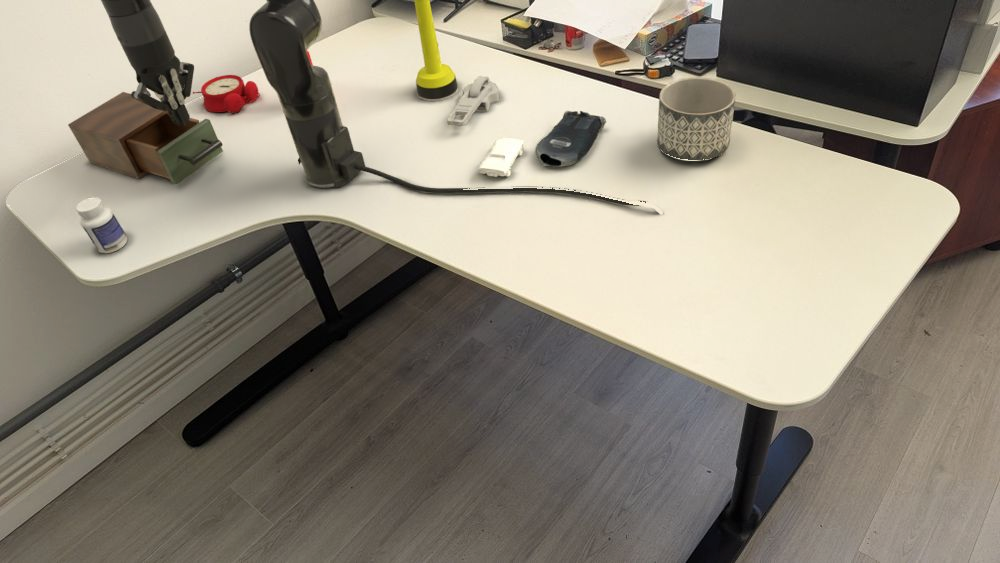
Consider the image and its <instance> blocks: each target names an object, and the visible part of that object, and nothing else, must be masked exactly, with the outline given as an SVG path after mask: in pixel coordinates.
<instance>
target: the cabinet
mask: <svg viewBox="0 0 1000 563" xmlns="http://www.w3.org/2000/svg"><path fill="white" fill-rule="evenodd" d="M159 101H160V100H159ZM160 102H161V101H160ZM166 113H168V111H162V110H158V109H155V108H153V107H151V106H149V105H147V104H145V103H143V102H140V101H138V100H136V99H134V98H132V96H131V93H129V92H125V91H122V92H120V93H119V94H117V95H115V96H113V97H112V98H110V99H109V100H107V101H105V102H103V103H102V104H100V105H98V106H96V107H95V108H93V109H91V110H90V111H88V112H86V113H85V114H83V115H82V116H80V117H78V118H77V119H75V120H73V121H71V122H69V123H68V124H67V126H68V128H69V129H70V131H71V133H72V134H73V136H74V138H75V139H76V141H77V143H78V145H79V147H80V148H81V150H82V152H83V153H84V155H85V156H86V158H87V160H88V161H89V163H90V164H93V165H95V166H99V167H101V168H104V169H108V170H110V171H114V172H116V173H120V174H123V175H127V176H129V177H133V178H136V179H138V180H140V179H143V178H144V177H145V176H146V175H149V174H150V173H149V172H146V171H143V170H139V169H138V167H137V165H136V163H135V161H134V159H133V157H132V156H131V154H130V152H129V150H128V148H127V146H126V144H125V142H124V141H125V140H126V139H128V138H129V137H131V136H132V135H134V134H135V133H137V132H139V131H140V130H142V129H143V128H145V127H146V126H148V125H149V124H151V123H153V122H154V121H156V120H157V119H159V118H160V117H162V116H163V115H165V114H166Z"/></svg>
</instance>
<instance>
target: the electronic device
mask: <svg viewBox="0 0 1000 563" xmlns="http://www.w3.org/2000/svg"><path fill="white" fill-rule="evenodd" d="M606 123H607V120H606V117H604V116H600V115H594V114H590V113H589V112H587V111H582V110H580V111H577V110H575V111H574V110H573V111H571V110H566V111H564V113H563V116H562V118H561V119H560V120H559V122H558V123H557V124H556V125H554V127H553V129H552V130H551V131H550V132H549V133H548V134H547V135H546V136H544V137H542V138H541V139H540V140H539V142H537V144H536V146H535V154H536V157H537V158H538V159H539V161H540V162H542V165H543V167H546V166H549V167H559V168H560V167H567V166H571V165H574V164H576V163H578V162H579V161H581V160H582V159H583V158H584V157H585V156H586V155H587V154H588V152H589V151H590V149H592V146H593V145H594V143H595V141H596V140H597V137H598V135H599V132H602V131H603V130H604V127H605V126H606Z"/></svg>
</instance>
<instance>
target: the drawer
mask: <svg viewBox="0 0 1000 563" xmlns="http://www.w3.org/2000/svg"><path fill="white" fill-rule="evenodd" d="M189 121H190V123H188V124H187V125H185V126H184V127H183V126H179V125H177V124H174V123H173V121H172V119H171V117H170V115H169V113H166V114H165V115H163V116H162V117H160V118H159V119H157V120H156V121H154V122H153V123H151V124H149V125H148V126H146V127H145V128H143V129H142V130H140V131H139V132H137V133H135V134H134V135H132V136H131V137H129V138H128V139H126V140H125V141H124V142H125V144H126V146H127V148H128V150H129V152H130V154H131V156H132V157H133V159H134V161H135V163H136V165H137V167H138V169H139V170H143V171H146V172H149V173H148V174H153V175H155V176H159V177H162V178H165V179H168V180H170V182H171V184H172V185H174V186H178V185H179V184H180V183H183V181H185V180H186V179H188V178H189V177H190V176H191V175H193V174H194V173H196V172H197V171H198V170H200V169H201V168H202V167H204V166H205V165H207V164H208V163H209V162H210V161H213V159H215V158H216V157H217V156H218V155H220V154H222V153H223V152H224V150H223V147H222V146H223V143H222V141H221V140H220V139H219V138H218V136H217V134H216V131H215V129H214V126H213V124H212V122H211V120H210V119H208V118H204V119H202V120H201V121H200V120H199V119H197V118H193V117H190V119H189Z"/></svg>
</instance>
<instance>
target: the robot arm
mask: <svg viewBox="0 0 1000 563" xmlns="http://www.w3.org/2000/svg"><path fill="white" fill-rule="evenodd" d="M100 1H101V4H102V6H103V8H104V9H105V12H106V14H107V16H108V18H109V21H110V24H111V27H112V29H113V32H114V34H115V36H116V38H117V40H118V42H119V44H120V46H121V48H122V50H123V52H124V54H125V56H126V58H127V60H128V62H129V64H130V66H131V67H132V69H133V70H134V72H135V75H136V77H135V78H136V81H137V84H138V85H137V87H136V90H133V91H132V92H131V93H130V94H131V96H132V98H134V99H136V100H138V101H140V102H143V103H145V104H147V105H149V106H151V107H153V108H155V109H158V110H162V111H168V113H169V115H170V117H171V119H172V121H173V123H174V124H177V125H179V126H183V127H184V126H185V125H187V124H188V123H190V121H189V119H190V118H191V117H190V116H191V115H190V113H189V111H188V109H187V107H186V105H185V102H186V98H190V97H191V95H192V94H191V93H192V88H193V81H194V72H195V65H194V64H193V63H190V62H184V61H181V60H180V58H179V57H178V56H176V52H175V49H174V47H173V44H172V43H171V42H172V41H171V40H170V38H169V35H168V33H167V31H166V28H165V26H164V24H163V22H162V19H161V18H160V15H159V14H158V11H157V10H156V8H155V7H154V5H153V3H152V2H151V0H100ZM248 27H249V28H248V29H249V30H248V31H249V36H250V40H251V43H252V46H253V48H254V52H255V54H256V56H257V59H258V61H259V64H260V66H261V68H262V71H263V73H264V75H265V78H266V80H267V82H268V84H269V85H270V87H271V88H272V89H273V90H274V91H275V92H276V95H277V98H278V99H279V102H280V106H281V109H282V112H283V114H284V118H285V121H286V123H287V126H288V129H289V132H290V135H291V138H292V141H293V144H294V146H295V149H296V152H297V155H298V158H297V163H298V165H299V166H300V165H301V166H302V169H303V172H304V175H305V176H304V177H305V180H306V182H307V184H308V185H310V186H311V187H314V188H318V189H330V188H338V189H339V188H341V187H343V186H344V185H345V184H346V183H347V182H349V181H352V180H353V178H355V177H356V176H357V175H359V173H360V172H366V173H368V174H372V175H375V176H377V177H380V178H382V179H385V180H387V181H390V182H393V183H396V184H398V185H400V186H402V187H405V188H408V189H410V190H414V191H417V192H422V193H430V194H479V193H480V194H482V193H483V194H485V193H516V192H517V193H520V192H521V193H523V192H529V193H533V192H534V193H553V194H564V195H573V196H579V197H585V198H591V199H595V200H599V201H604V202H608V203H612V204H616V205H621V206H627V207H628V206H629V207H630V206H632V207H640V206H639V205H633V204H629V203H626V202H622V201H618V200H613V199H609V198H605V197H601V196H596V195H592V194H586V193H580V192H574V191H576V190H577V189H573V190H574V191H566V190H555V189H553V188H554V186H553V187H552V186H549V187H550V188H551V187H552V189H537V188H513V189H478V190H463V189H468V188H469V189H470V188H471V187H429V186H428V187H427V186H421V185H417V184H413V183H410V182H408V181H407V180H403V179H401V178H398V177H395V176H394V175H391V174H389V173H385V172H383V171H380V170H378V169H375V168H371V167H370V166H366V164H365V163H366V162H365V159H364V155H363V153H362V152H361V151H358V150H355V148H354V145H353V141H352V138H351V135H350V131H349V128H348V127H347V126H346V125H344V124H343V120H342V117H341V114H340V111H339V108H338V107H339V106H338V103H337V100H336V96H335V93H334V89H333V86H332V83H331V82H332V81H331V78H330V76H329V74H328V71H326V69H325V68H323V67H320V66H317V65H313V66H311V63H310V61H309V58H308V55H307V52H306V51H309V49H310V47H312V46H313V45H314V44H315V42H317V41H318V39H319V38H320V36H321V33H322V31H323V22H322V17H321V13H320V10H319V8H318V6H317V4H316V2H315V0H266V2H265V3H264V4H263V5H262V6H260V7H259V8H258V9H257V10H256V11H255V12H254V13H253V14H252V16H251V17H250V20H249V26H248ZM150 91H151V92H153V93H154V95H155V96H156V97H157V99H156V98H155V97H153V96H152V94H151V93H150ZM158 99H159V100H158ZM160 101H161V102H160ZM541 187H542V188H543V187H544V186H541ZM483 188H485V187H483ZM558 188H559V189H560V188H561V187H558ZM564 189H566V188H564ZM567 189H568V190H569V189H570V188H567ZM590 192H591V191H590ZM591 193H593V192H591ZM599 194H600V195H602V194H601V193H599ZM616 198H617V197H616ZM617 199H619V198H617ZM622 200H624V198H623V199H622ZM639 201H640V202H642V201H643V202H645V203H646V200H639Z"/></svg>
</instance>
